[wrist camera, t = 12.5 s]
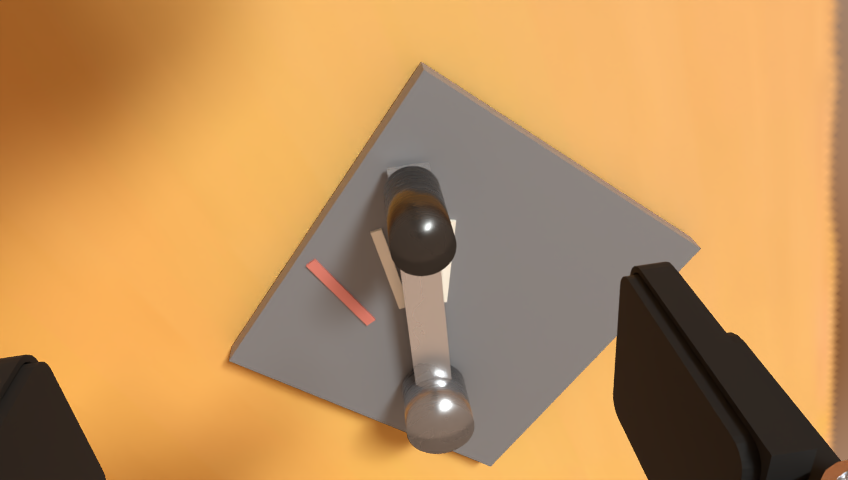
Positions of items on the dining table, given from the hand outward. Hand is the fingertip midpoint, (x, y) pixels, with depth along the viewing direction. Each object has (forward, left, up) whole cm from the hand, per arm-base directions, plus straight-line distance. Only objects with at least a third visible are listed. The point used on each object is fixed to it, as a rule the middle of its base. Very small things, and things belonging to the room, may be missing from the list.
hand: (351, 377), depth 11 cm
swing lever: (+12, +13, -26) cm, 32 cm away
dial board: (+11, +16, -28) cm, 34 cm away
